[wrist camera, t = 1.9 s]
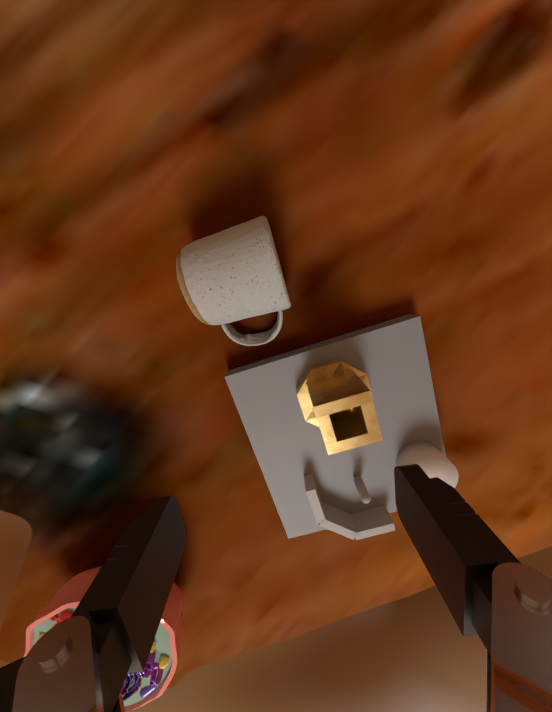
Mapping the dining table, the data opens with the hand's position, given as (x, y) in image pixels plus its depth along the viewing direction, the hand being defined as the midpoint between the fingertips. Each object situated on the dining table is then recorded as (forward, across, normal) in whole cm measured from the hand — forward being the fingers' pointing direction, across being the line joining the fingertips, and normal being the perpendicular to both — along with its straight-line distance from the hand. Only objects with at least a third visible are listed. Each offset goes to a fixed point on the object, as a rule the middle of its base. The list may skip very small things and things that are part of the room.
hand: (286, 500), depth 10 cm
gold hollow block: (+18, -5, +4) cm, 19 cm away
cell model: (+21, +24, +29) cm, 43 cm away
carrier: (+20, -6, +10) cm, 23 cm away
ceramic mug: (+20, +2, -8) cm, 22 cm away
